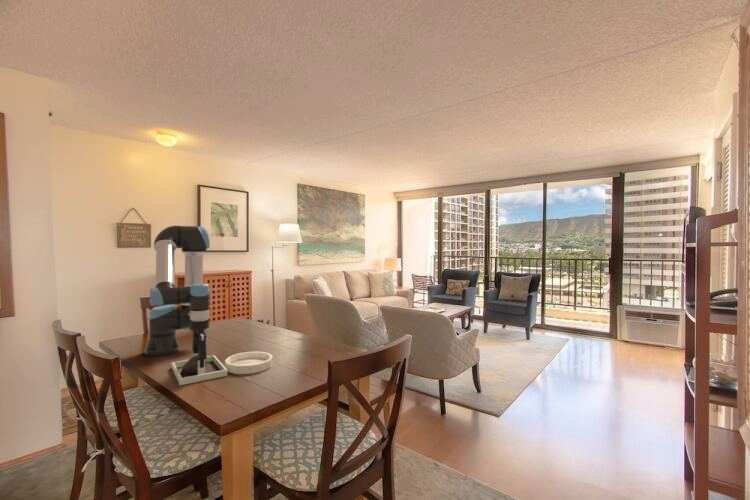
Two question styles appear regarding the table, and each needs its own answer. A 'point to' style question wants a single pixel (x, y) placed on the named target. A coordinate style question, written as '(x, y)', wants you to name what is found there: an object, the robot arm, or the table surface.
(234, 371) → the bowl
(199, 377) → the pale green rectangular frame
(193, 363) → the stone
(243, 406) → the table surface
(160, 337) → the robot arm
